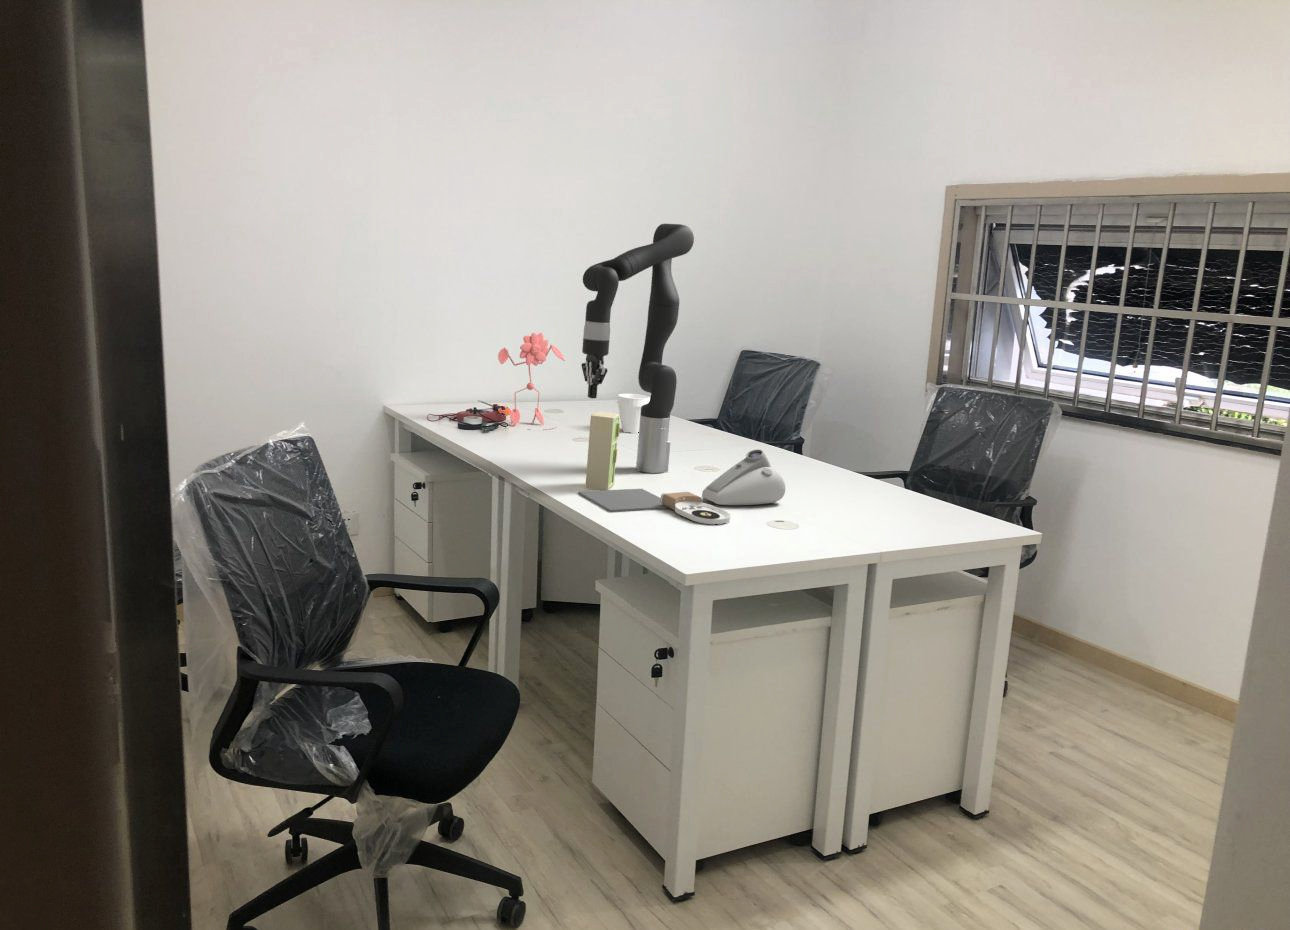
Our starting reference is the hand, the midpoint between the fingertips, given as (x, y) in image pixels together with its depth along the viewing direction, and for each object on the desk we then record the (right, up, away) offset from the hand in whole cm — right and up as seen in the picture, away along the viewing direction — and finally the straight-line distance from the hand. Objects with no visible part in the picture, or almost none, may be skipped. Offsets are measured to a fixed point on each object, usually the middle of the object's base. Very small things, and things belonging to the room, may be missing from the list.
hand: (592, 397), depth 288 cm
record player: (+29, -32, -26) cm, 51 cm away
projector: (+42, -30, -7) cm, 52 cm away
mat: (+10, -29, -17) cm, 35 cm away
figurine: (-27, -5, +84) cm, 88 cm away
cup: (+10, -7, +90) cm, 91 cm away
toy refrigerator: (+3, -26, -4) cm, 26 cm away
